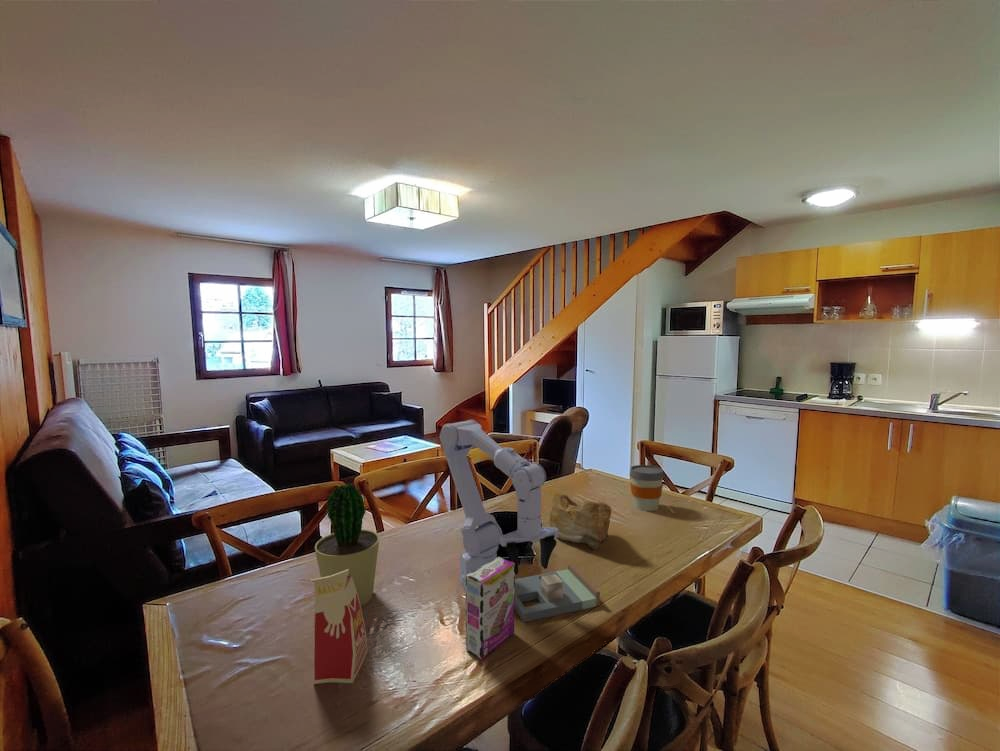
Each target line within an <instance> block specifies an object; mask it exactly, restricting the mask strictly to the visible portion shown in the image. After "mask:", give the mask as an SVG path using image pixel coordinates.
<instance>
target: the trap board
mask: <svg viewBox="0 0 1000 751" xmlns="http://www.w3.org/2000/svg"><path fill="white" fill-rule="evenodd" d="M553 574H556V575H557V576H558V577H559V578H560V579H561V580H562V582H563V598H559V599H554V600H549V601H548V600H547V599H546V598H545V596H544V595H543V594H542V593H541V577H542V576H547V575H553ZM600 599H601V591H600V590H599V589H598V588H597V587H596V586H595V585H594V584H592V582H591V581H589V579H587V577H586V576H585V575H584V574H582V573H581V571H579V570H578V569H577V568H576V566H574V565H573V563H567V569H562V570H557V571H552V572H547V573H546V572H545V573H541V574H535V575H530V576H525V577H519V578H515V593H514V611H515V612H516V613H517V614H518V616H519V618H520V619H521V621H522V622H523V623H527V622H531V621H536V620H540V619H545V618H549V617H554V616H555V617H556V616H559V615H563V614H567V613H572V612H577V611H581V610H585V609H590V608H594V607H600V606H601V601H600ZM532 600H534V601H535V600H537V601H539V602H538V603H539V604H536V605H535V604H534V605H531V606H524V604H523V603H525V602H529V601H532Z"/></svg>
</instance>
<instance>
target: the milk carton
mask: <svg viewBox="0 0 1000 751" xmlns="http://www.w3.org/2000/svg"><path fill="white" fill-rule="evenodd" d="M348 572H349V569H347V570H344V571H342V572H339V573H336V574H334V575H331V576H327V577H322V578H321V577H318V578H313V579H310V582H312V583H313V584H314V598H315V600H314V601H315V602H314V620H313V621H314V622H313V658H312V659H313V662H312V663H313V685H316V684H317V685H319V684H320V685H321V684H325V683H326V684H327V683H338V684H339V683H341V684H344V683H345V684H353V683H354V682H355V680H356V677H357V676H358V673H359V671H360V669H361V667H362V665H363V663H364V660H365V657H367V656H366V655H367V653H368V651H369V648H368V640H367V630H366V624H365V621H364V616H363V612H362V611H363V610H362V606H360V601H359V598H358V595H357V591H356V588H355V584H354V581H353V578H352V576H348Z"/></svg>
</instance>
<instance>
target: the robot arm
mask: <svg viewBox="0 0 1000 751" xmlns="http://www.w3.org/2000/svg"><path fill="white" fill-rule="evenodd" d="M439 440H440V443H441V447H442V450H443V452H444V455H445V460H446V462H447V465H448V467H449V471H450V473H451V476H452V479H453V482H454V486H455V488H456V491H457V494H458V498H459V500H460V503H461V506H462V509H463V513H464V515H465V518H466V520H465V521H464V524H463V525H462V527H461V529H460V532H461V534H462V545H463V548H464V550H465V551H466V552H465V553H462V554H461V555H460V579H459V580H460V582H461V584H462V587H463V589H464V591H465V592H466V575H467V574H469V573H471V572H473V571H475V570H476V569H478V568H480V567H482V566H483V565H485V564H487V563H489V562H491V561H492V560H494V559H496V558H498V556H497V555H498V554H497V553H498V552H497V551H498V550H499V545H501V546H502V547H504V549H505V551H506V554H507V555H508V558H509V559H508V560H509V561H511V562H514V563H515V575H518V574H519V562H518V561H519V554H520V549H519V548H518V546H517V544H519V543H524V542H531V543H538V542H539V545H540V566H541V567H542V568H543V569H544V570H547V569H548V566H549V561H550V558H551V555H552V553H553V552H554V549H555V548H556V546H557V540H556V538H558V529H557V528H555V527H550V526H548V527H544V526H543V527H542V486H543V485H544V484H545V482H546V480H547V474H546V473H547V472H546V471H545V469H544V467H543V466H542V465H541V464H540V463H539V462H537V461H536V462H535V461H533V462H531V461H528V459H526V458H524V457H522V456H521V455H520V454H519V453H517V452H516V451H515V449H514V448H513V447H511V446H510V447H508V446H505V447H502V446H501V445H499V444H498V443H497V442H496V441H495V440H494V439H493V438H492V437H490V436H489V435H488V434H487V433H486V432H485V431H484V430H483V428H482V424H480V423H478V422H477V421H476V420H475V419H467V420H465V421H458V422H453V423H446V424H444V425H443V426H442V427H441V431H440V433H439ZM473 447H476V448H478V449H479V450H480V451H481V452H483V453H484V454H486V455H487V456H489V457H491V458H492V459H493V464H494V466H495V467H496V468H497V469H499V470H500V471H501V472H502V473H503V474H505V476H507V477H509V478H510V480H511V483H512V486H513V488H514V489H515V496H516V498H517V501H516V502H517V503H516V504H517V529H516V530H515V531H511V532H508V533H506V534H503V530H502V528H501V527H500V525H499V524H498V522H497V521H496V518H495V516H494V515H492V514H490V513H488V512H486V510H485V506H484V504H483V502H482V497H481V495H480V492H479V490H478V486H477V484H476V481H475V477H474V475H473V472H472V468H471V467H470V463H469V461H468V458H467V457H468V455H469V452H470V451H471V450H472V448H473ZM558 539H559V538H558Z"/></svg>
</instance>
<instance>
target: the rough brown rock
mask: <svg viewBox="0 0 1000 751" xmlns="http://www.w3.org/2000/svg"><path fill="white" fill-rule="evenodd" d="M611 516H612V507H611V506H610V505H609V504H607V503H605V502H595V501H591V500H590V501H589V500H588V501H587V500H585V501H583V502H582V503H581V505H579V504H577V502H575V501H573V500H572V499H570V497H569V496H568V495H567V494H563V493H560V492H559V493H554V494H553V497H552V505H551V510H550V511H549V527H555V528H557V529H558V539H559V540H563V541H568V542H572V543H576V544H581V543H583V544H586V545H587V546H588V547H589V548H591V549H593V550H598V549H599V548H600V545H601V544H602V543H603V541H604V540H607V539H608V536H609V535H608V532H609V527H610V523H611Z"/></svg>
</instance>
